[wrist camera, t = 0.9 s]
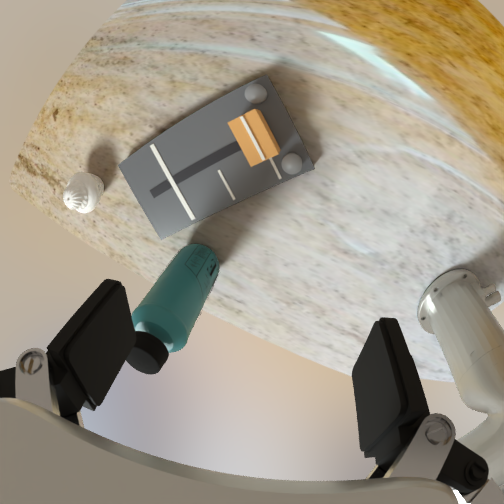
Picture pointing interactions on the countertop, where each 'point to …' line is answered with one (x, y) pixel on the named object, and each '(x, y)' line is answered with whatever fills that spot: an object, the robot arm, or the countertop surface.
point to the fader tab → (254, 137)
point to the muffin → (83, 192)
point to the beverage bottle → (172, 307)
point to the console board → (212, 160)
